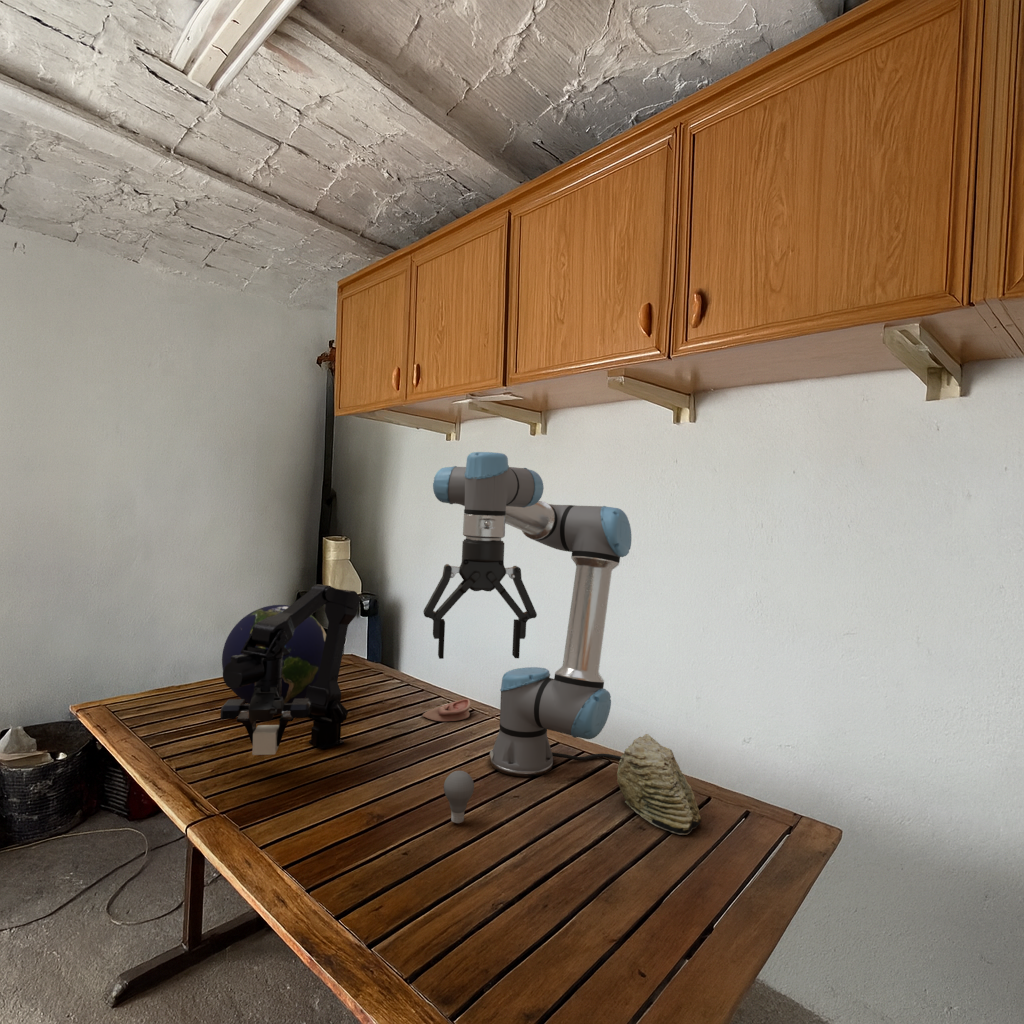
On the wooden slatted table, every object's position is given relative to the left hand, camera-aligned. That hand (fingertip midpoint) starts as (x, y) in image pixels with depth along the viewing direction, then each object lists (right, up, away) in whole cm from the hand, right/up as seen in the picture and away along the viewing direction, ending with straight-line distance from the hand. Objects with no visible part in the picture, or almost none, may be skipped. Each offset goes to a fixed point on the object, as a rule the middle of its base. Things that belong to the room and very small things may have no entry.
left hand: (266, 745), depth 144 cm
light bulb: (+45, -9, -18) cm, 49 cm away
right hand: (+50, +27, -30) cm, 64 cm away
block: (0, -1, 0) cm, 1 cm away
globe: (-15, -5, +45) cm, 47 cm away
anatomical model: (+36, -7, +43) cm, 57 cm away
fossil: (+86, -10, -11) cm, 87 cm away
